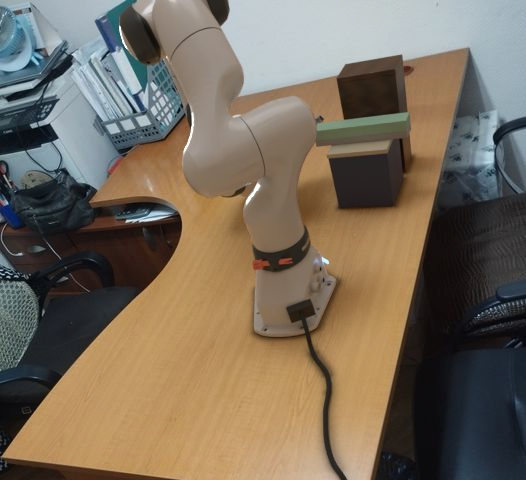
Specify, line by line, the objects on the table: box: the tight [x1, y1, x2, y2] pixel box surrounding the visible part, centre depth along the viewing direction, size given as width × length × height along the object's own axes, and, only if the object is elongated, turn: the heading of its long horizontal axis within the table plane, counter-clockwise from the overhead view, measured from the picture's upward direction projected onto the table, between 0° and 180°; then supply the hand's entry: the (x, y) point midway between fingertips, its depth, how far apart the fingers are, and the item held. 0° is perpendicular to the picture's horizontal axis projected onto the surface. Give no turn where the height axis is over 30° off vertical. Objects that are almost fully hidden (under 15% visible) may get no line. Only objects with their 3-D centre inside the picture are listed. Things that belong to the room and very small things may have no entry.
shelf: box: [336, 53, 413, 174], centre depth 130 cm, size 14×8×26 cm, turn 66°
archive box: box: [326, 139, 404, 209], centre depth 126 cm, size 14×12×15 cm
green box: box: [315, 111, 412, 148], centre depth 120 cm, size 22×4×4 cm, turn 66°
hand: (315, 127), depth 123 cm, fingers open, 8 cm apart
